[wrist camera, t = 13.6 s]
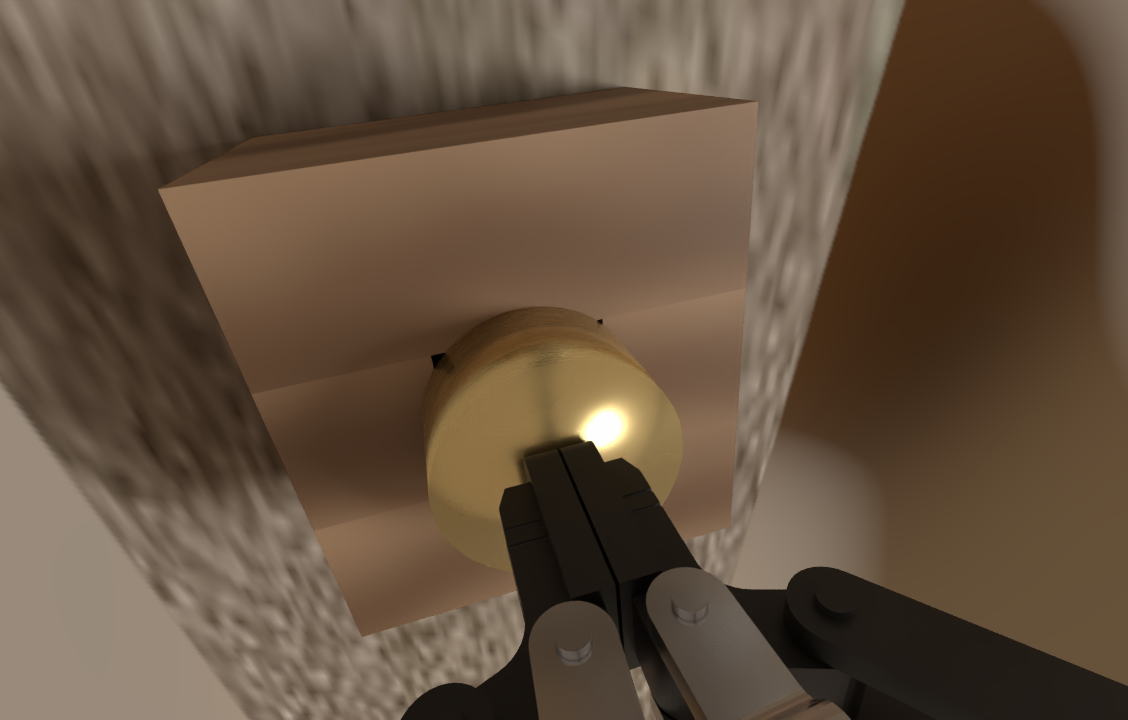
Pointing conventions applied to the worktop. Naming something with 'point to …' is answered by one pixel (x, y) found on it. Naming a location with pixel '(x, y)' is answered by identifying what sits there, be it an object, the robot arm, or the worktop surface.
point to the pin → (535, 416)
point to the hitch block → (470, 296)
